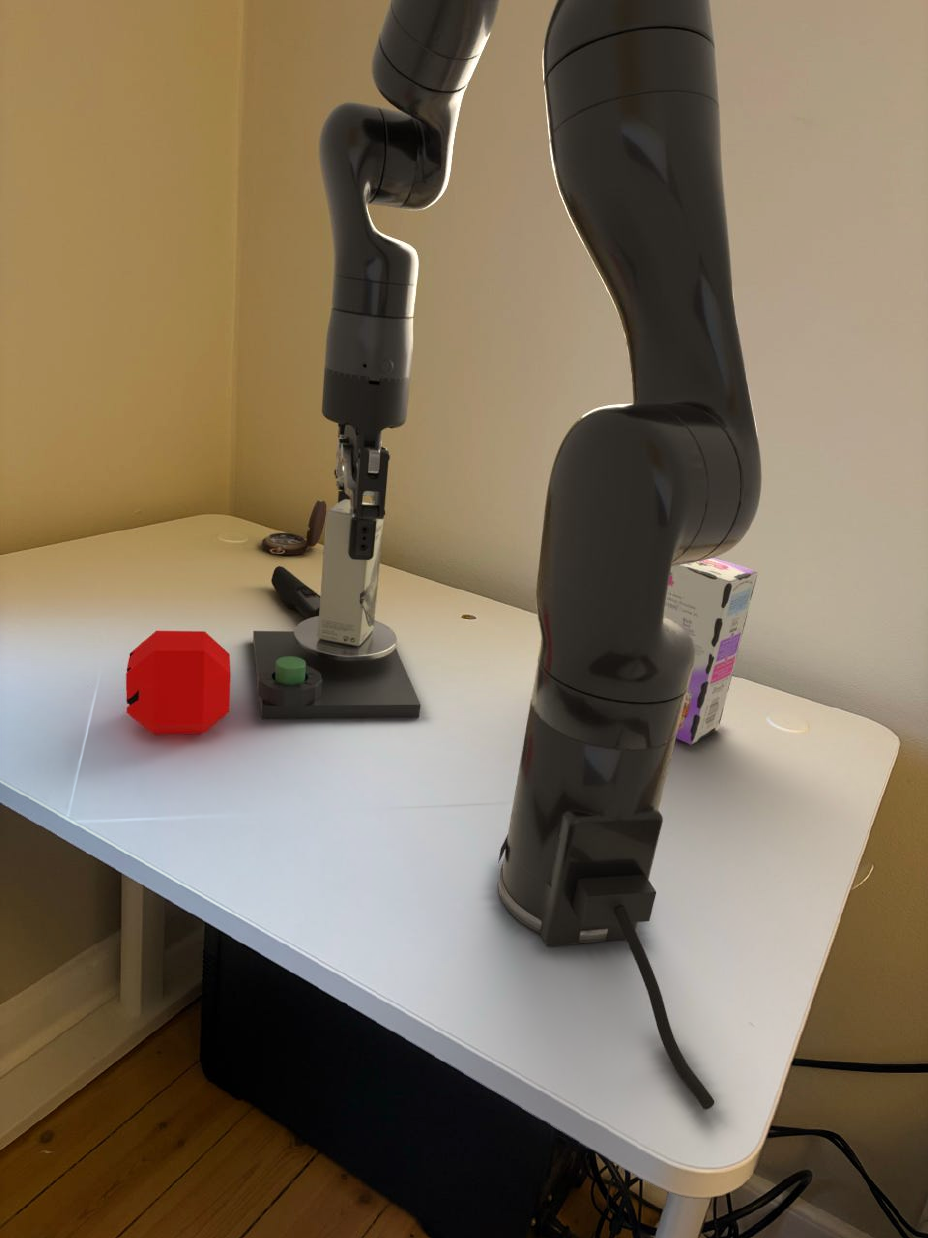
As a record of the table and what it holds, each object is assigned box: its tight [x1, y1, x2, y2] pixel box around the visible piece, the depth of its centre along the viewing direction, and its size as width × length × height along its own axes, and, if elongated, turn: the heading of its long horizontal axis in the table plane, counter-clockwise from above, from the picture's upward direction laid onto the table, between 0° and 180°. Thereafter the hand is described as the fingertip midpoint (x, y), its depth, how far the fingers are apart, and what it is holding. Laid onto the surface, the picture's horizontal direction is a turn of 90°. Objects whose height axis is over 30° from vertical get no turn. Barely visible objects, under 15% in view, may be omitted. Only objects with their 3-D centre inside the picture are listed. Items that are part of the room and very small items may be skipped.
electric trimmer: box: [270, 565, 321, 620], centre depth 102 cm, size 4×16×3 cm, turn 32°
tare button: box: [275, 656, 306, 685], centre depth 81 cm, size 3×3×2 cm
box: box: [318, 499, 385, 646], centre depth 87 cm, size 5×4×13 cm
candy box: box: [664, 557, 759, 746], centre depth 87 cm, size 14×6×16 cm, turn 47°
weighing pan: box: [293, 616, 398, 662], centre depth 90 cm, size 10×10×1 cm
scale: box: [252, 630, 421, 721], centre depth 88 cm, size 16×14×3 cm
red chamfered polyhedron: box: [125, 630, 232, 736], centre depth 76 cm, size 8×8×8 cm
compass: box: [261, 498, 327, 556], centre depth 120 cm, size 8×8×7 cm
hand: (353, 543), depth 86 cm, fingers open, 8 cm apart
